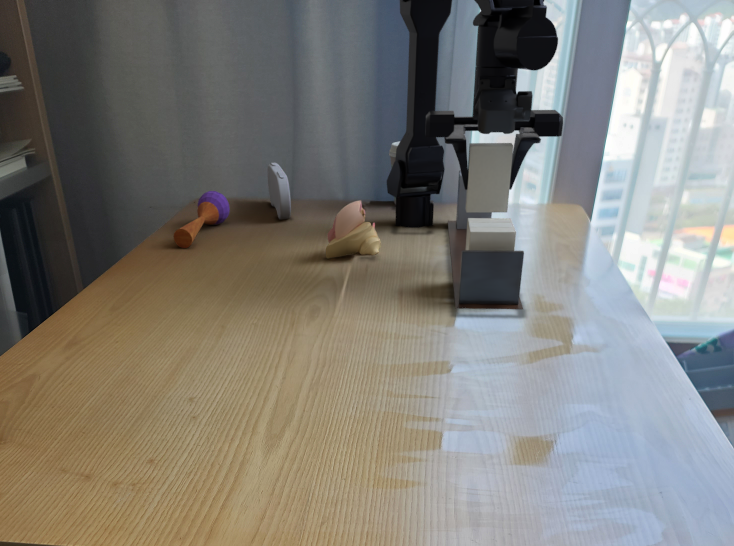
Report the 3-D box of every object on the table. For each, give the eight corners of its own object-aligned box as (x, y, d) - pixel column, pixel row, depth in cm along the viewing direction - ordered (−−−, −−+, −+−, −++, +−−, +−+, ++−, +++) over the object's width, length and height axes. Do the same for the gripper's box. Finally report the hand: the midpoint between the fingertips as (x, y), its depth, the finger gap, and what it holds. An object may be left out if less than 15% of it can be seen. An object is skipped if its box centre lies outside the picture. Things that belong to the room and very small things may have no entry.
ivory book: (466, 212, 110) (470, 145, 105) (465, 208, 112) (469, 143, 107) (507, 212, 110) (513, 145, 105) (505, 208, 112) (511, 142, 107)
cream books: (465, 298, 103) (470, 231, 98) (463, 282, 109) (467, 217, 104) (509, 299, 103) (516, 231, 98) (504, 282, 109) (511, 218, 104)
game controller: (293, 223, 144) (290, 176, 139) (281, 223, 143) (278, 177, 139) (279, 201, 160) (277, 159, 155) (269, 201, 159) (266, 159, 155)
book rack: (455, 315, 101) (458, 255, 96) (447, 226, 140) (449, 180, 136) (522, 316, 100) (529, 255, 95) (495, 226, 140) (499, 180, 135)
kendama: (161, 224, 128) (199, 189, 143) (173, 258, 131) (209, 221, 147) (192, 218, 126) (227, 184, 142) (204, 252, 130) (237, 216, 145)
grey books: (456, 229, 134) (460, 175, 129) (456, 222, 138) (459, 170, 133) (490, 229, 134) (494, 175, 129) (488, 222, 138) (492, 170, 133)
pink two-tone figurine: (395, 256, 126) (389, 225, 117) (346, 290, 126) (337, 262, 117) (365, 217, 128) (356, 184, 119) (317, 251, 128) (305, 220, 119)
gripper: (427, 71, 95) (423, 201, 103) (577, 69, 94) (560, 201, 102) (427, 65, 104) (423, 185, 113) (563, 64, 103) (549, 185, 111)
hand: (487, 189), depth 109 cm, fingers closed on ivory book, 6 cm apart
